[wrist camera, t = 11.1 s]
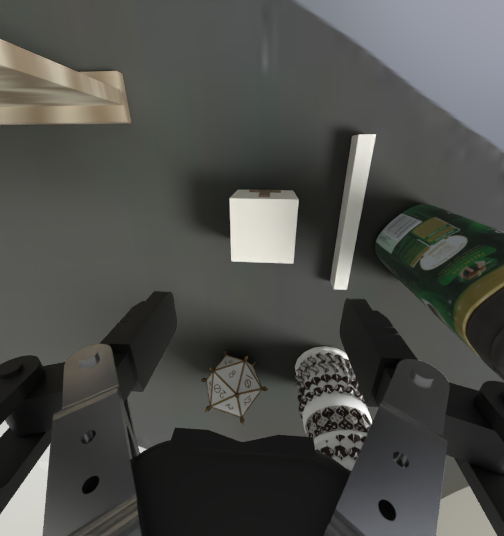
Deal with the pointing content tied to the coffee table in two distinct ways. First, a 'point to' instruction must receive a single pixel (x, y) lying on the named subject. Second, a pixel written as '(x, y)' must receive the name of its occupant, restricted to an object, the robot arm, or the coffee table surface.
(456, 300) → the coffee jar
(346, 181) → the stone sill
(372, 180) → the coffee table surface
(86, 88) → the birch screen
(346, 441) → the decorative candle
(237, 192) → the letter cube
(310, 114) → the coffee table surface
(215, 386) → the game die
